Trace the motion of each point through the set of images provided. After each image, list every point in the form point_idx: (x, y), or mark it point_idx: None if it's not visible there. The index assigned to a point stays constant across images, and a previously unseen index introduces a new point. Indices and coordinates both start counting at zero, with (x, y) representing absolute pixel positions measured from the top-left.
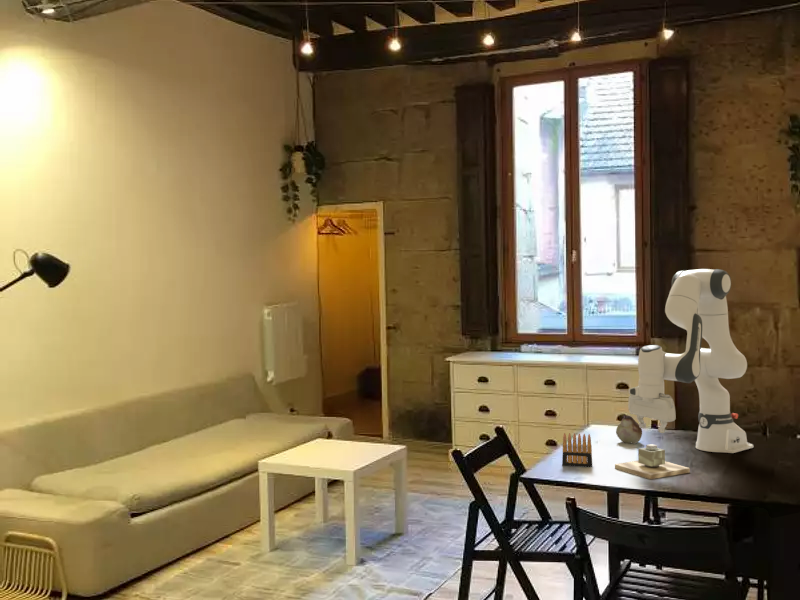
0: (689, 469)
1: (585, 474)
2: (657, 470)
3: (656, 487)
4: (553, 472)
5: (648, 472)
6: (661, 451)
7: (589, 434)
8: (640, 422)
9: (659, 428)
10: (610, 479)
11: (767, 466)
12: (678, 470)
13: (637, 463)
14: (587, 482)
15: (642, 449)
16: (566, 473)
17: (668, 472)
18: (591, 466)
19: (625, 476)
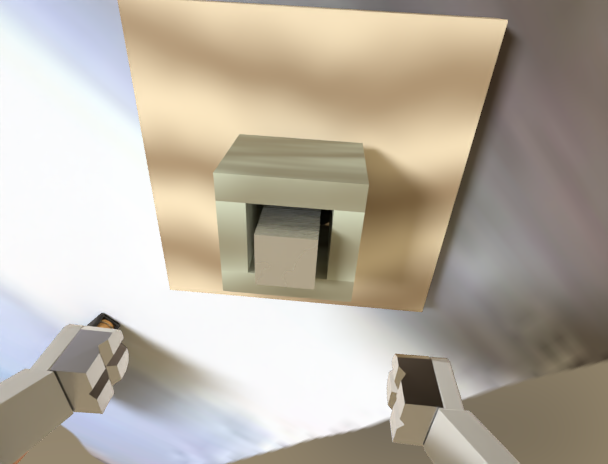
0: (503, 22)
1: (210, 393)
2: (390, 232)
3: (514, 356)
4: (141, 430)
5: (385, 288)
6: (362, 214)
7: None
8: (59, 418)
9: (418, 438)
10: (314, 384)
11: None
12: (474, 132)
13: (207, 202)
14: (299, 439)
15: (256, 288)
16: (169, 417)
17: (451, 207)
18: (118, 327)
19: (314, 329)
